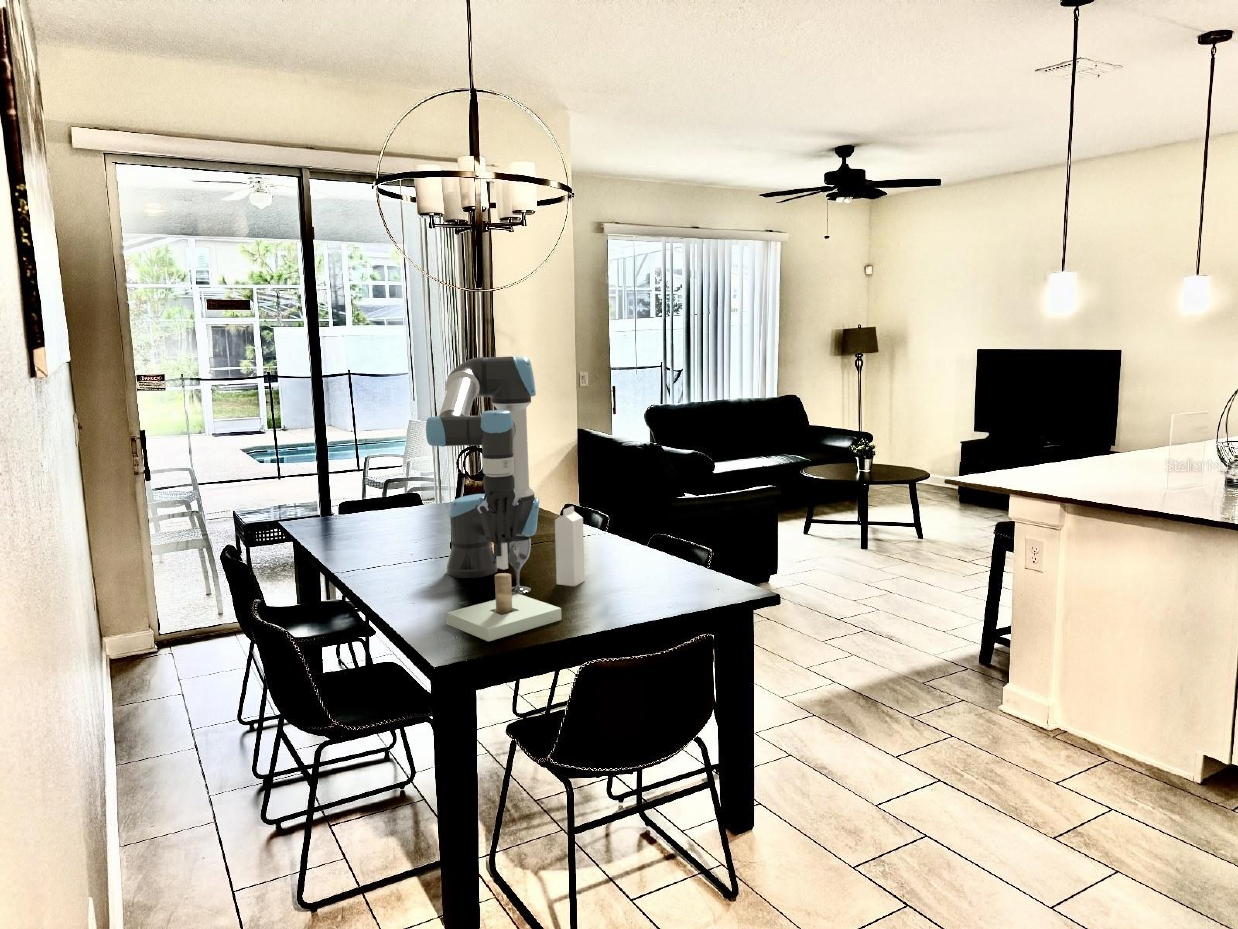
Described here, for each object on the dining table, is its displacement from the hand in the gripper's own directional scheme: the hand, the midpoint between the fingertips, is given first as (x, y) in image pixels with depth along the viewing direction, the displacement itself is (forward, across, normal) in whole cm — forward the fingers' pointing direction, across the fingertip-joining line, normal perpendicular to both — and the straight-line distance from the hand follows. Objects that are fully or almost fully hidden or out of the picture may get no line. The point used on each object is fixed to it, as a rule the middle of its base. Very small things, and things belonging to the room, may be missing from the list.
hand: (502, 567), depth 217 cm
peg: (+14, 0, 0) cm, 14 cm away
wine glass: (+14, +19, +20) cm, 31 cm away
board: (+14, 0, 0) cm, 14 cm away
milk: (+14, +34, +15) cm, 39 cm away
